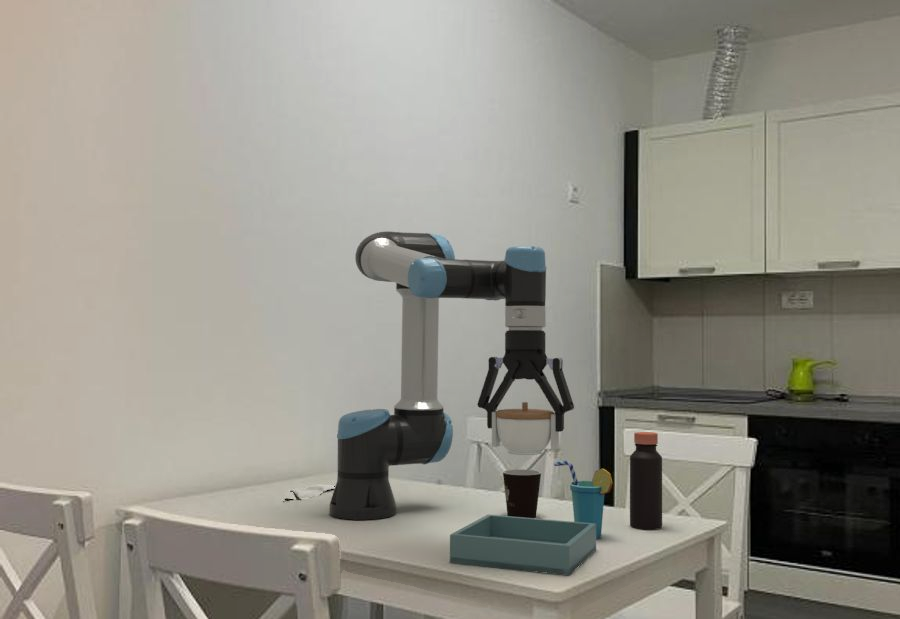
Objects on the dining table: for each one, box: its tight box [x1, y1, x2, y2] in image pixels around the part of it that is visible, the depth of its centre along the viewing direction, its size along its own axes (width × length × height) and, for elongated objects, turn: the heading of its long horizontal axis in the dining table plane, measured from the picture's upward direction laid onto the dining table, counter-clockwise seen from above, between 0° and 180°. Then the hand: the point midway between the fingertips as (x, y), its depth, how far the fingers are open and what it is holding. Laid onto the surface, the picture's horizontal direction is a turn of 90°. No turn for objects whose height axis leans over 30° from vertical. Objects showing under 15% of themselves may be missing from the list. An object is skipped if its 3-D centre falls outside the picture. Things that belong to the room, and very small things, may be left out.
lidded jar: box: [496, 401, 555, 456], centre depth 168 cm, size 11×11×9 cm
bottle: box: [629, 431, 663, 531], centre depth 194 cm, size 7×7×20 cm
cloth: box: [283, 484, 336, 501], centre depth 233 cm, size 26×14×2 cm, turn 146°
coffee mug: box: [502, 468, 542, 519], centre depth 206 cm, size 12×9×10 cm
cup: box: [553, 460, 614, 540], centre depth 185 cm, size 14×8×15 cm, turn 53°
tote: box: [449, 514, 597, 576], centre depth 168 cm, size 22×20×5 cm
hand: (525, 447), depth 168 cm, fingers closed on lidded jar, 11 cm apart
